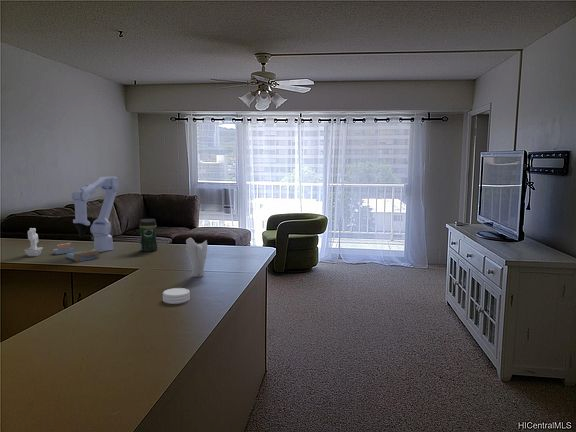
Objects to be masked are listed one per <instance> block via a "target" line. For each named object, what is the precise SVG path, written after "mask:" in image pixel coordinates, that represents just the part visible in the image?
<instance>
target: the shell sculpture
mask: <svg viewBox="0 0 576 432" xmlns="http://www.w3.org/2000/svg"><path fill="white" fill-rule="evenodd" d="M185 243H186V245H185V248H186V253H187V256H188V258H189V262H190V264H191V266H192V272H191V277H195V278H200V277H203V276H204V275H205V270H204V267H205V263H206V257H207V254H208V240H207V239H205V240H204V241H203V242H201V243H197V242H195V240H194V239H193V238H192V237H189V238H187V239H186V240H185Z"/></svg>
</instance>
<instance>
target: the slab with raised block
mask: <svg viewBox="0 0 576 432" xmlns="http://www.w3.org/2000/svg"><path fill="white" fill-rule="evenodd" d="M72 252H75V251H74V247H72V243H71V242H67V243H61V244H57V245H56V248H54V249H52V254H55V255H62V254H67V253H72Z"/></svg>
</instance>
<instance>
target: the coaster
mask: <svg viewBox="0 0 576 432" xmlns="http://www.w3.org/2000/svg"><path fill="white" fill-rule="evenodd" d="M190 293H191V291H190V290H189V289H188V288H183V287H173V288H168V289H166V290H164V291H163V292H162V301H163V303H165V304H171V305H172V304H173V305H177V304H184V303H187V302H188V301H190V299H191V296H190V295H191V294H190Z"/></svg>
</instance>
